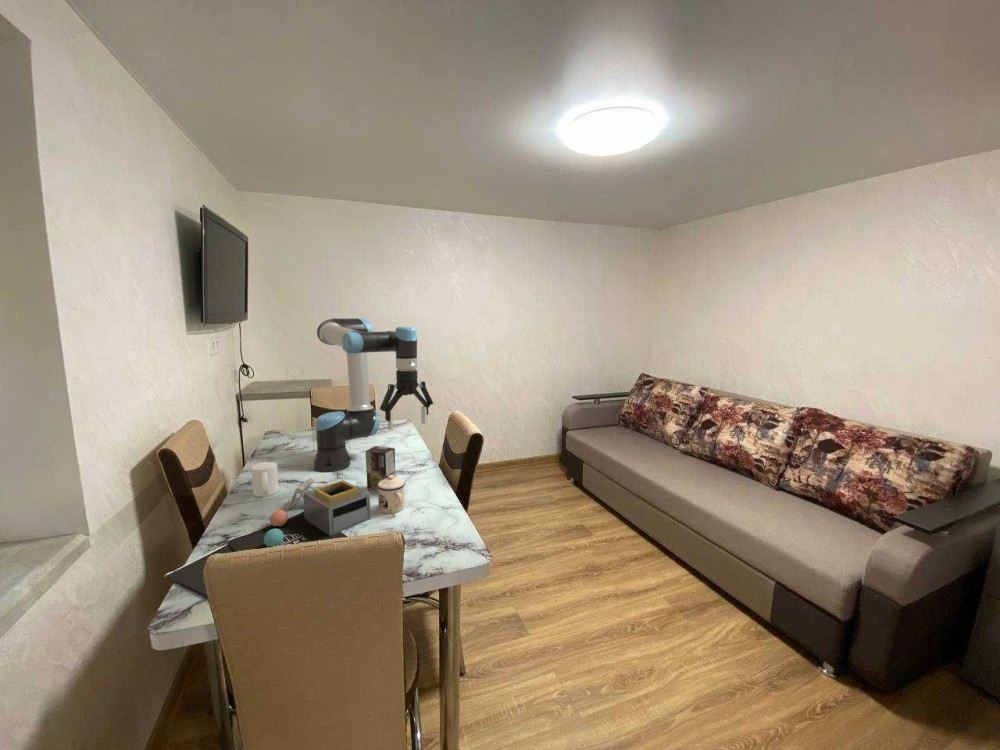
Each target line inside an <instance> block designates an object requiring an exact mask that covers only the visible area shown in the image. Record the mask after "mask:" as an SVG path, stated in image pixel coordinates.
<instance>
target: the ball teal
mask: <svg viewBox="0 0 1000 750" xmlns="http://www.w3.org/2000/svg"><path fill="white" fill-rule="evenodd" d="M284 537H285V536H284V532H283V531H282V530H281V529H279V528H272V529H269V530H268V531H267V532H265V535H264V537H263V543H264V545H266V547H268V548H270V547H269V546H275V545H278V546H280V545H281V544H282V543H283V540H284ZM279 544H280V545H279Z"/></svg>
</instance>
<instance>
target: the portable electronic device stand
mask: <svg viewBox="0 0 1000 750" xmlns="http://www.w3.org/2000/svg"><path fill="white" fill-rule="evenodd" d="M314 482H315V481H314V479H313V478H311V477H310V478H308V479H307V480H305V481H304V482H303V483H302V484H300V485H299V486H298V487H297V488H295V490H294V493H293V495H292V497H291V500H288V501H286V502H285V503H284V504H283V505H282V510H284V511H285V512H288V511H289V510H291V509H292V507H293V506H294V505H296V504H297V503H298V502H299V501H301V500H303V501H304V499H303V493H305V492H308V491H310V489H309V487H310V486H312V485H313V484H314ZM298 495H299V496H298Z"/></svg>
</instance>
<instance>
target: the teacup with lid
mask: <svg viewBox="0 0 1000 750" xmlns="http://www.w3.org/2000/svg"><path fill="white" fill-rule="evenodd" d="M405 484H406V482H405V481H404V480H403V479H402V478H398V477H396V478H395V477H394V476H393V475H389V476H388V478H387V479H384V480H382V481H380V482H379V483H378V486H377V487H378V493H377V494H378V497H377V498H378V511H380V512H381V513H382V514H395V513H398V512H401V511H402V510H404V508H405V504H406V503H405Z"/></svg>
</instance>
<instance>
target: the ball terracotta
mask: <svg viewBox="0 0 1000 750" xmlns="http://www.w3.org/2000/svg"><path fill="white" fill-rule="evenodd" d="M288 519H289V514H288V513H287V511H284V510H283V509H277V510H275V511H273V512H272V513H271V515H270V517H269V523H270V524H271V525H272V527H276V526H279V527H282V526H284V525H286V523H287V522H288Z"/></svg>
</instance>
